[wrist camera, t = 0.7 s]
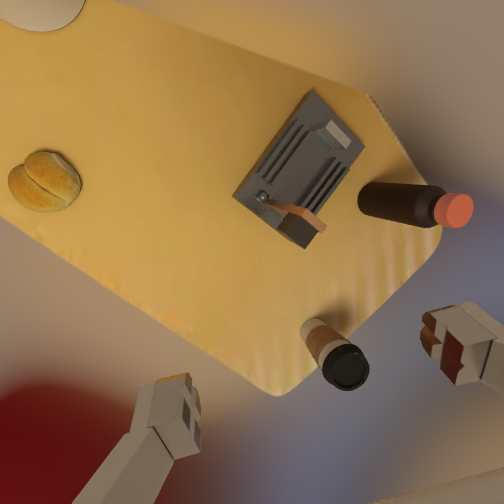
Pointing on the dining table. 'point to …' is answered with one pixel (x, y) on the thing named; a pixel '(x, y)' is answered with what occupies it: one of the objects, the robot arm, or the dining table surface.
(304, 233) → the brown and black bar
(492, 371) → the robot arm
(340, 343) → the coffee cup
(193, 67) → the dining table surface
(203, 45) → the dining table surface
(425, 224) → the bottle
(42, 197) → the bread roll
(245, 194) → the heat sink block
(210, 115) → the dining table surface
